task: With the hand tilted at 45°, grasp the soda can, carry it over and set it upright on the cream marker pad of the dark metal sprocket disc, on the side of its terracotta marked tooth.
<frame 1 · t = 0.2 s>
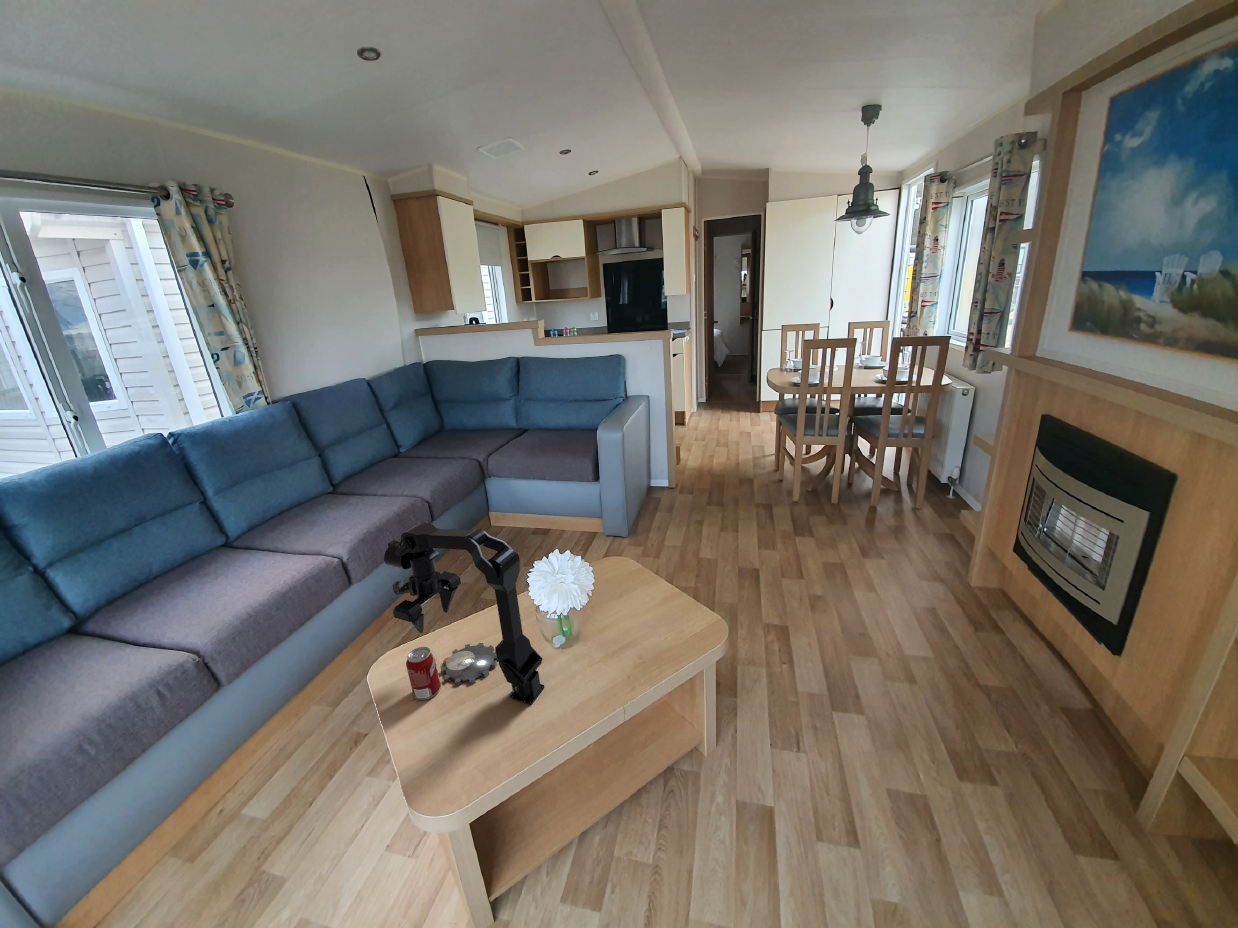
hand: (433, 621, 131), 15 cm above the table, tool pointing down, fingers open, 9 cm apart
soda can: (427, 692, 128), on the table
sprocket: (470, 664, 136), on the table
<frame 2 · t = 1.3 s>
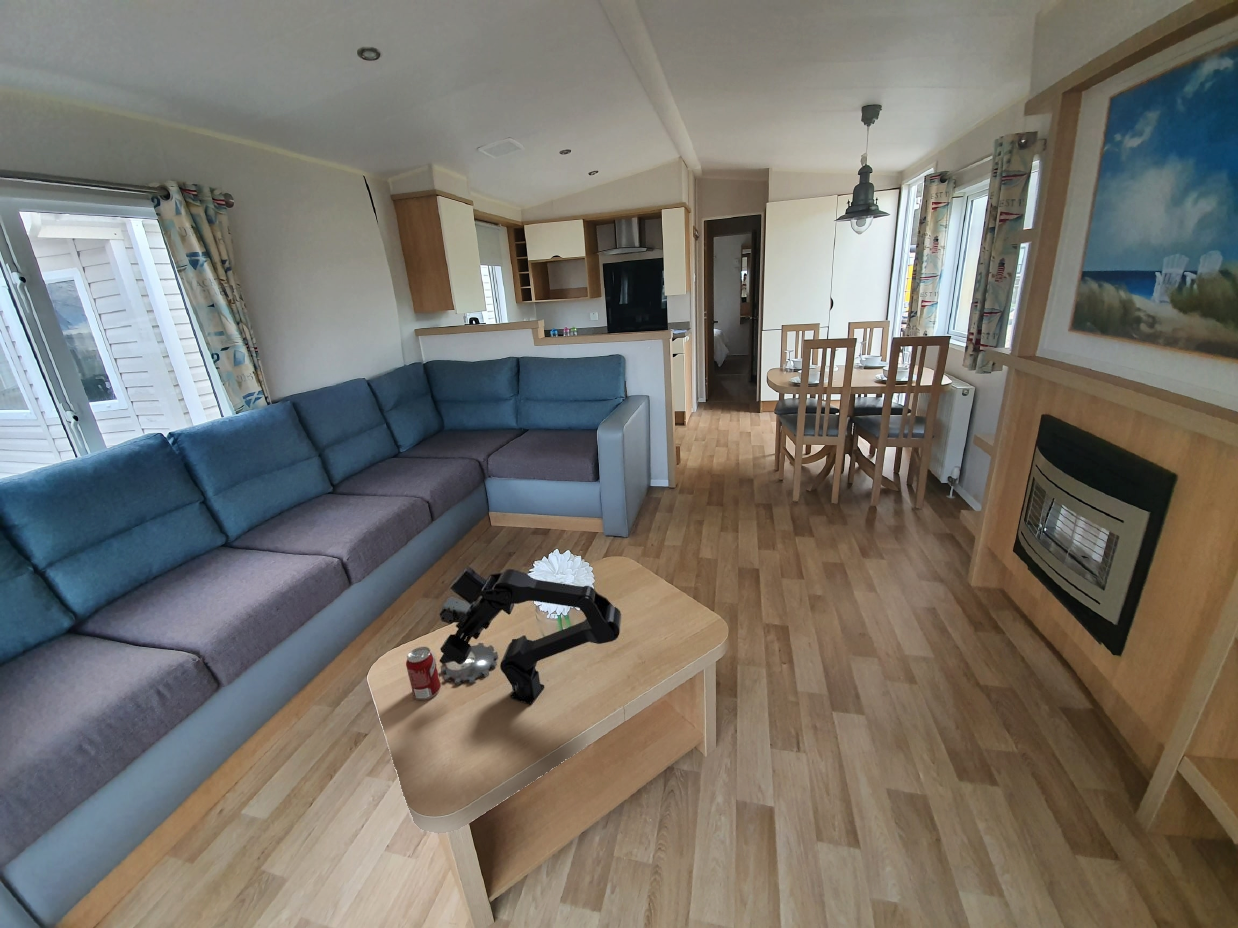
hand: (448, 649, 123), 13 cm above the table, tool tilted 45°, fingers open, 9 cm apart
nothing on the table moved.
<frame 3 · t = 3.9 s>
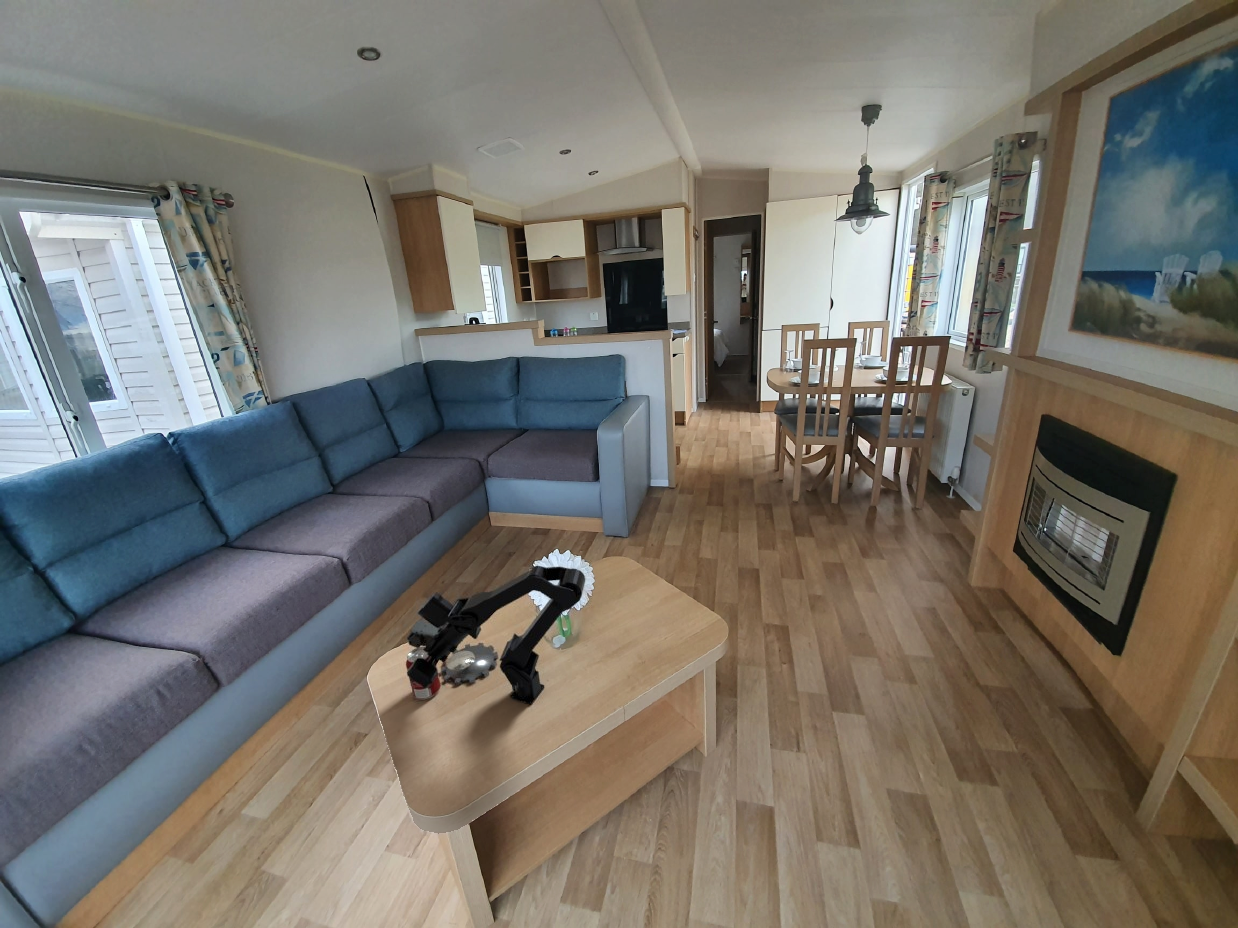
hand: (417, 670, 126), 7 cm above the table, tool tilted 45°, fingers closed on soda can, 6 cm apart
soda can: (427, 692, 128), on the table, touching gripper
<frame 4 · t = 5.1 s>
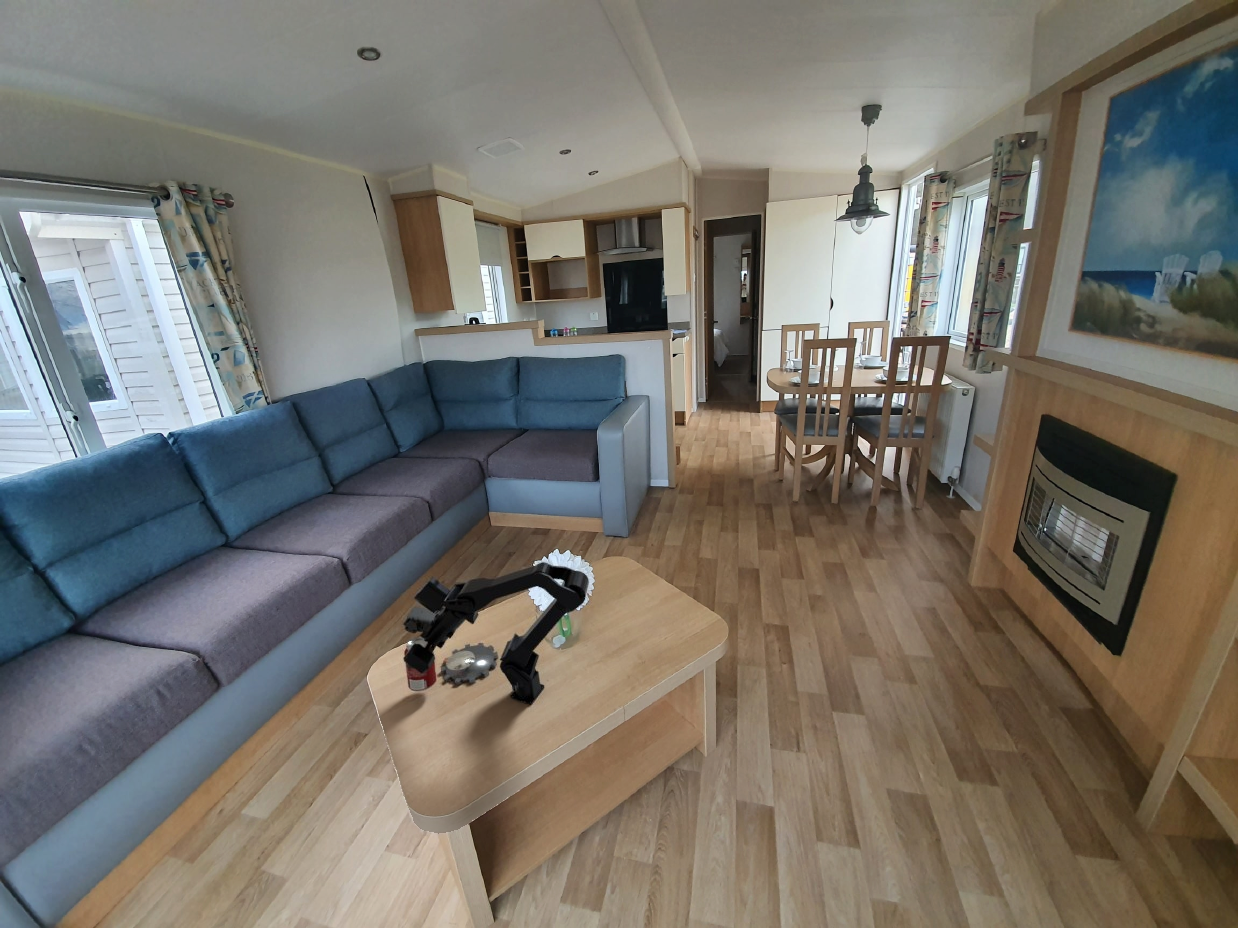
hand: (414, 657, 124), 11 cm above the table, tool tilted 45°, fingers closed on soda can, 6 cm apart
soda can: (422, 685, 126), point 3 cm above the table, touching gripper
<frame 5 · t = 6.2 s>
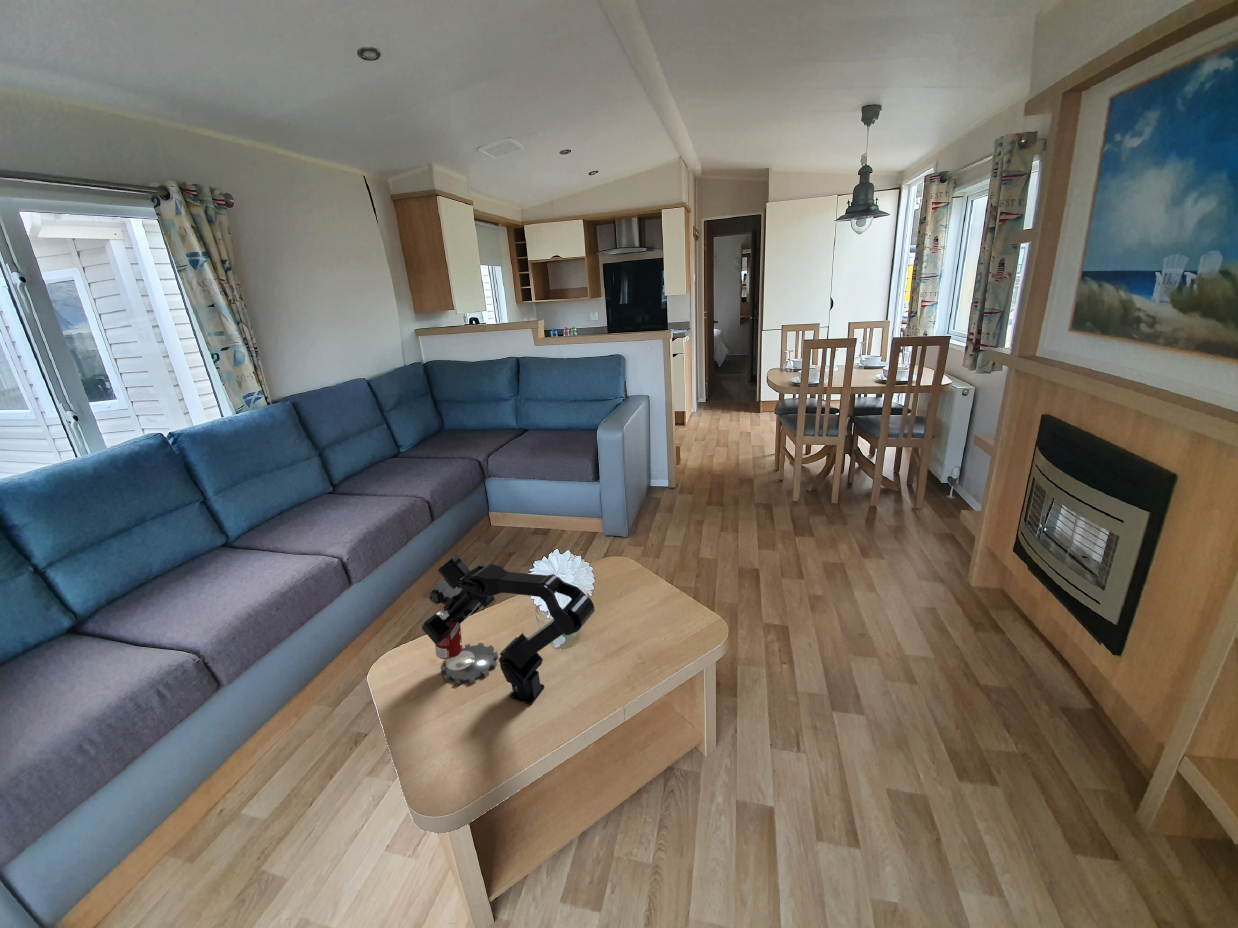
hand: (444, 626, 132), 13 cm above the table, tool tilted 45°, fingers closed on soda can, 6 cm apart
soda can: (449, 653, 133), point 5 cm above the table, touching gripper
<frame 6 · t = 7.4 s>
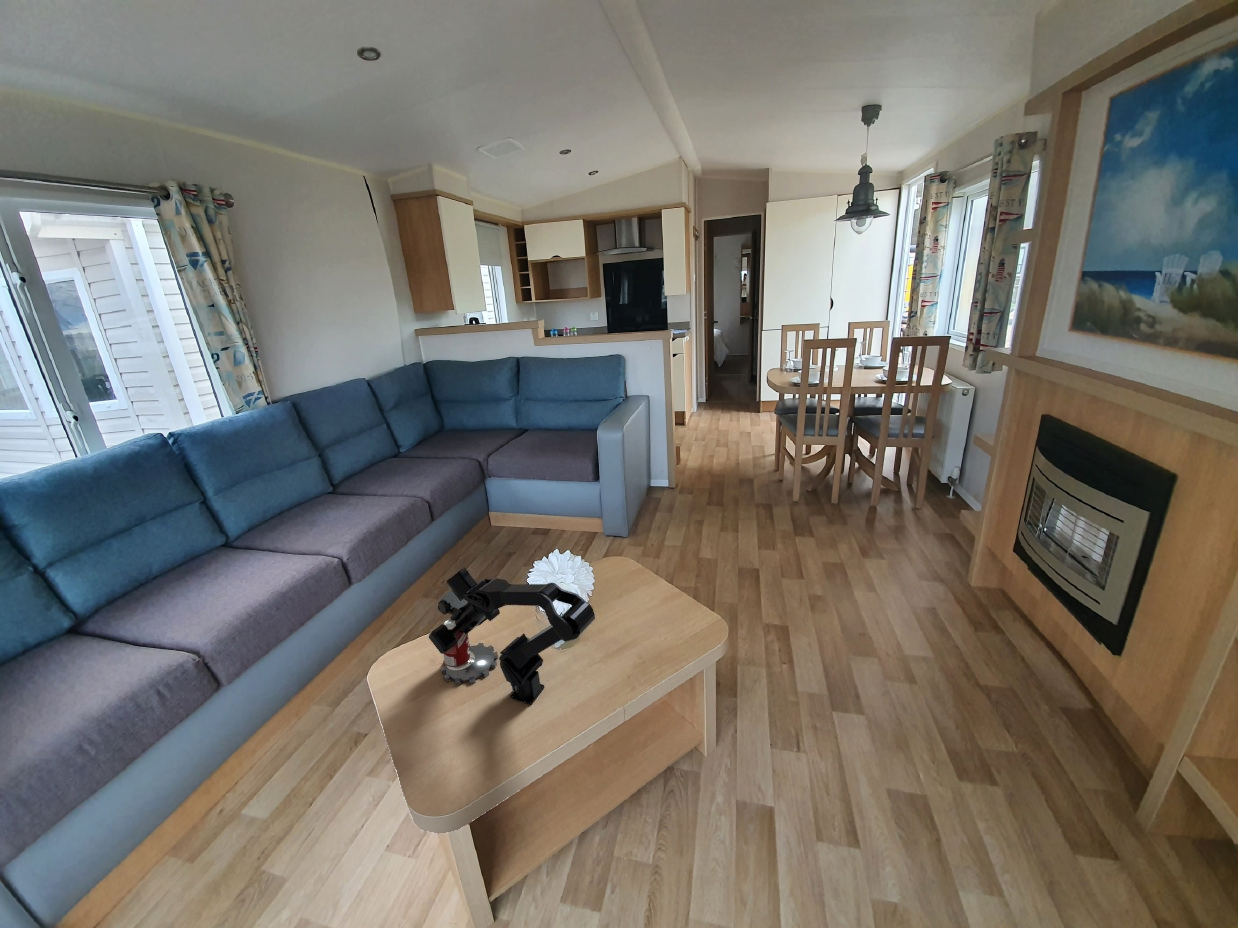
hand: (452, 634, 134), 9 cm above the table, tool tilted 45°, fingers closed on soda can, 6 cm apart
soda can: (457, 661, 136), point 1 cm above the table, touching gripper, sprocket
when the fingers open (9 cm above the table, at t = 7.9 s): soda can stays where it is, resting on sprocket.
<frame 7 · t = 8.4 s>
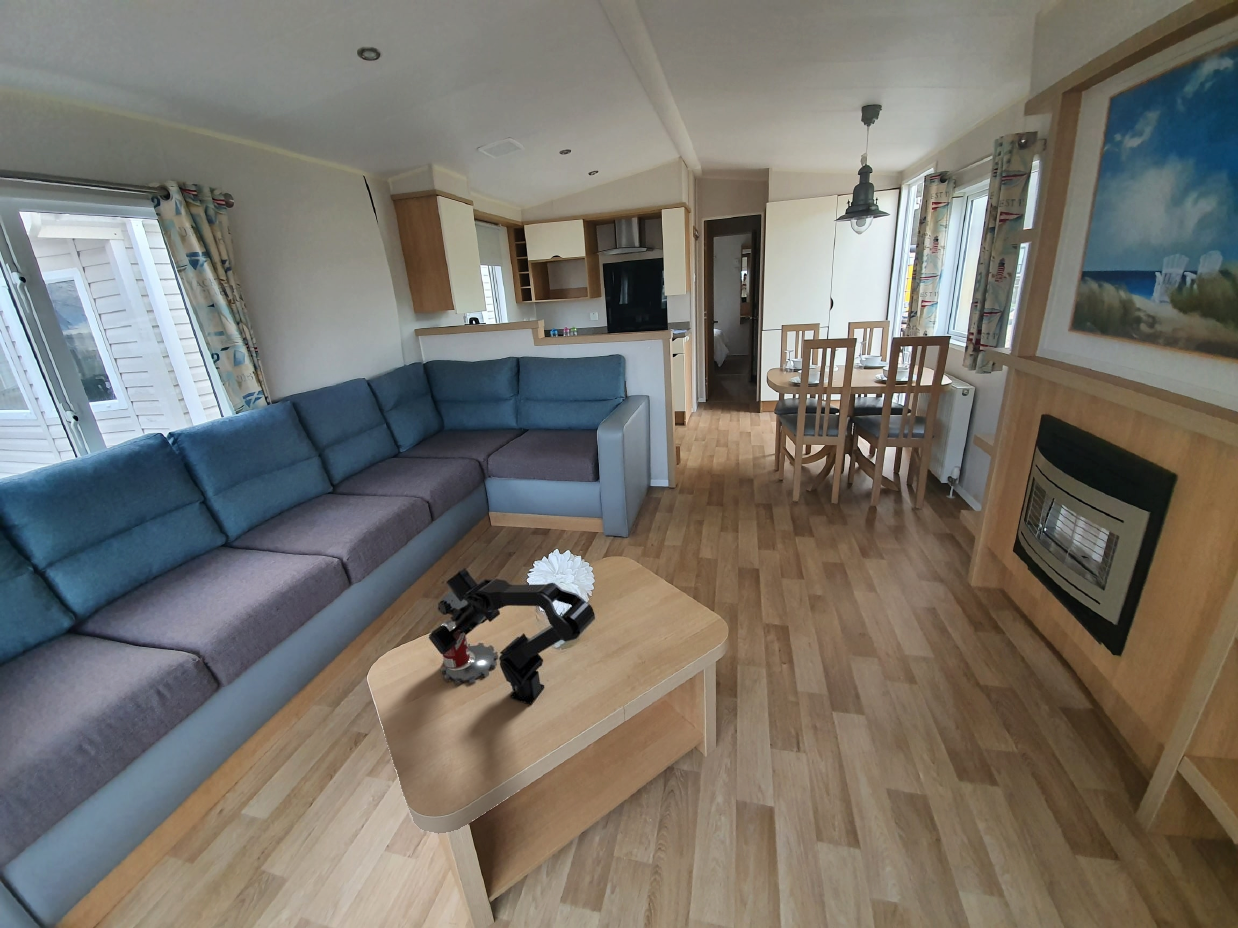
hand: (452, 635, 134), 9 cm above the table, tool tilted 45°, fingers open, 9 cm apart
soda can: (457, 662, 136), point 1 cm above the table, touching sprocket
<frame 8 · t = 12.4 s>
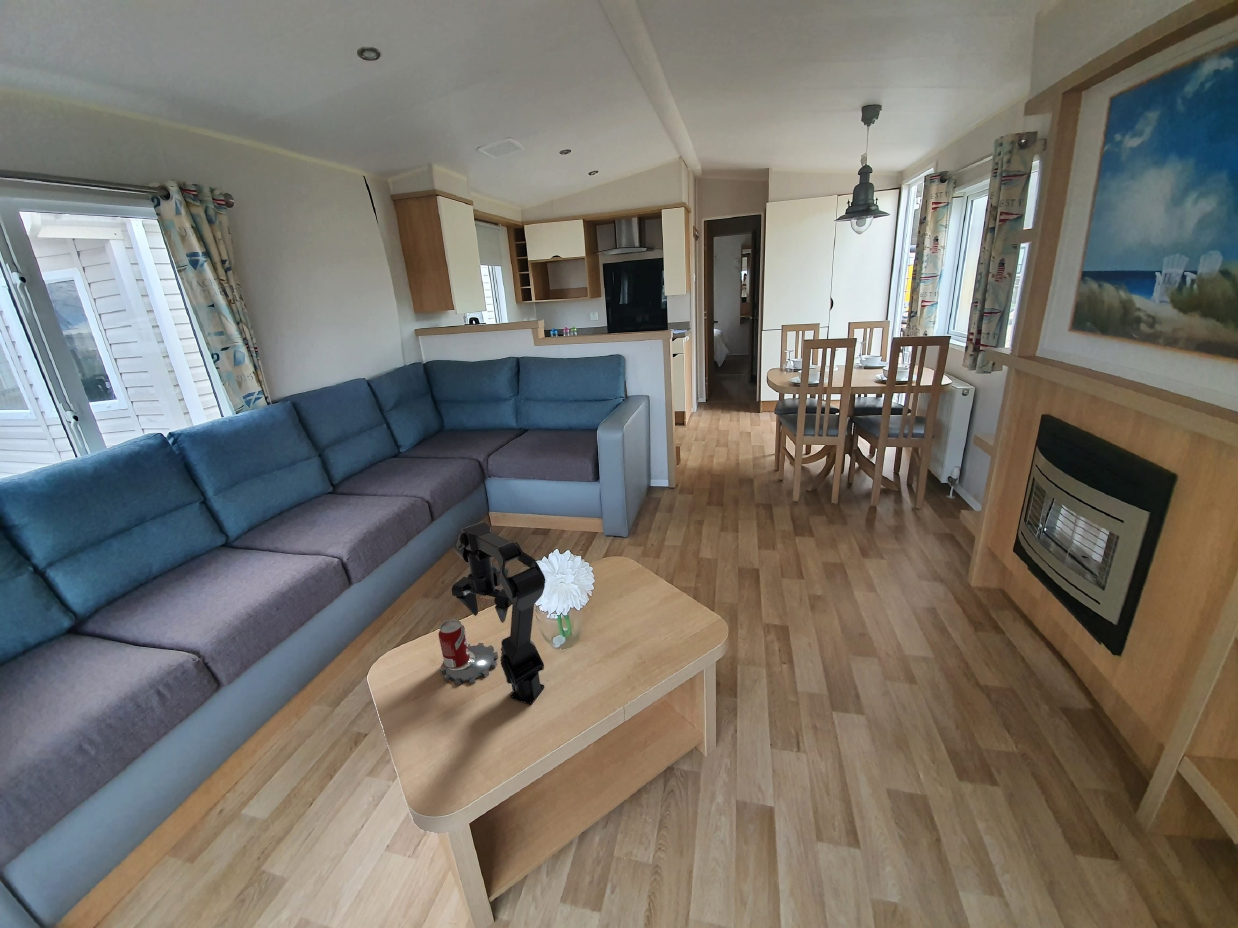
hand: (489, 618, 134), 13 cm above the table, tool pointing down, fingers open, 9 cm apart
nothing on the table moved.
at the end: soda can 0.9 cm from the target spot on the sprocket, point 1.1 cm above the sprocket's base; soda can tilted 0°; the gripper is holding nothing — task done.
